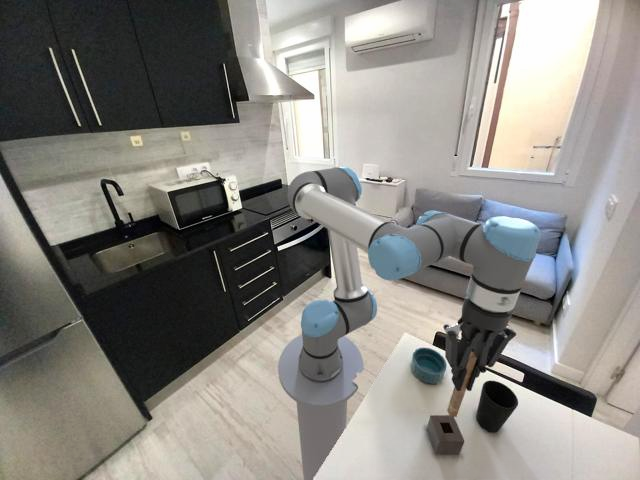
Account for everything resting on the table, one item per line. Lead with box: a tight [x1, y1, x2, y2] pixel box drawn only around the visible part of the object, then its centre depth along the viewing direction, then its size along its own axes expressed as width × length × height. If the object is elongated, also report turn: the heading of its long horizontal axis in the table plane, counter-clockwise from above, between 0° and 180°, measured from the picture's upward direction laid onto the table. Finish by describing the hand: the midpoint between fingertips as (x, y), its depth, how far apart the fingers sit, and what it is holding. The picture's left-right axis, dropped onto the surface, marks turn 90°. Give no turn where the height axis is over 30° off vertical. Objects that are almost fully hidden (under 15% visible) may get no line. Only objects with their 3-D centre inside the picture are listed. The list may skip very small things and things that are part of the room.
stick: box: [446, 351, 477, 418], centre depth 57 cm, size 2×2×20 cm
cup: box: [475, 380, 519, 434], centre depth 68 cm, size 8×8×12 cm
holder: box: [426, 414, 465, 456], centre depth 65 cm, size 6×6×6 cm
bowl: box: [410, 347, 447, 385], centre depth 84 cm, size 10×10×5 cm
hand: (461, 384), depth 57 cm, fingers closed on stick, 2 cm apart
